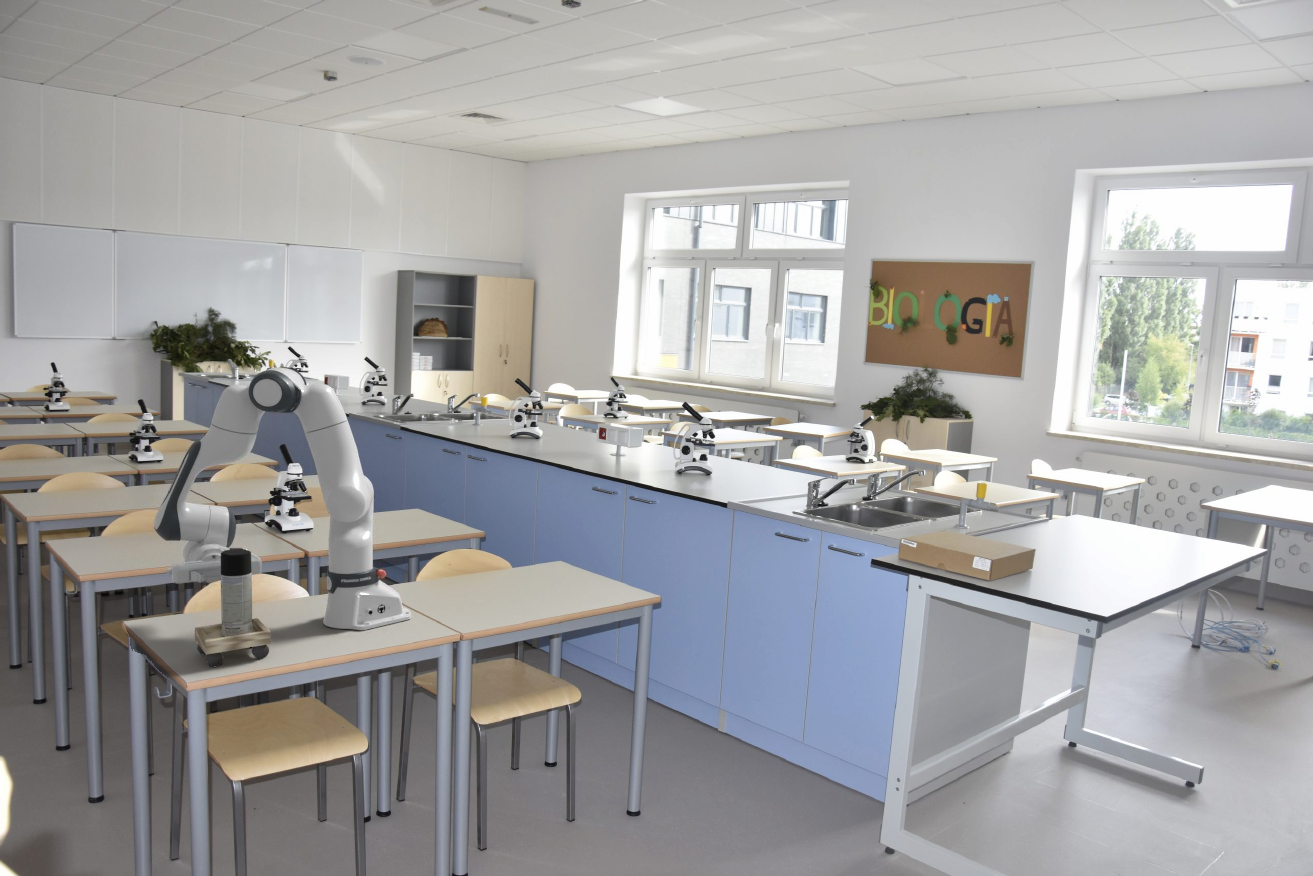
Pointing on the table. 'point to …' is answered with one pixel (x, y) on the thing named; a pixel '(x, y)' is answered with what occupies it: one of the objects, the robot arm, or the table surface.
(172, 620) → the table surface
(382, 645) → the table surface
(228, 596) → the spray can
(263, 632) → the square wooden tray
